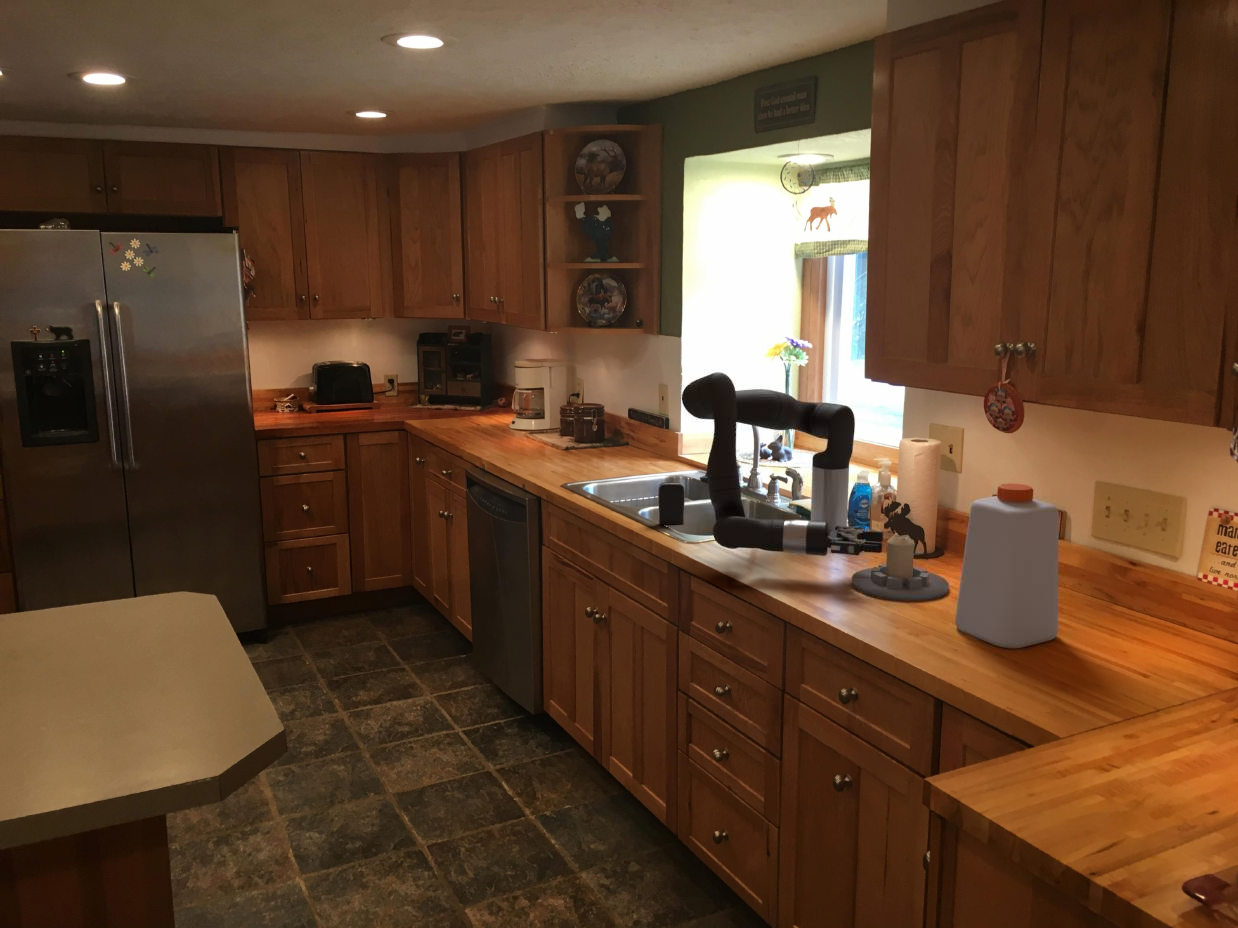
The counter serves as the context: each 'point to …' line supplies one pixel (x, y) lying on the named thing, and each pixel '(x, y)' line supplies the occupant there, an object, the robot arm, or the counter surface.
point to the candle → (900, 557)
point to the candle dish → (898, 594)
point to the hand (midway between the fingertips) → (882, 542)
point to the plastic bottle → (1010, 570)
